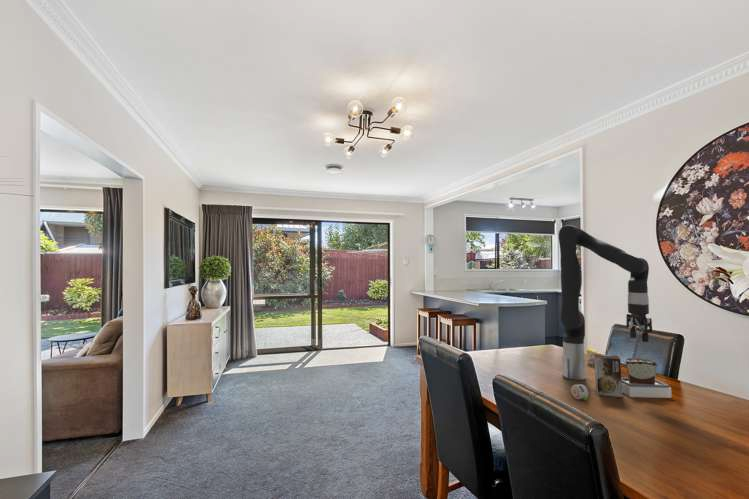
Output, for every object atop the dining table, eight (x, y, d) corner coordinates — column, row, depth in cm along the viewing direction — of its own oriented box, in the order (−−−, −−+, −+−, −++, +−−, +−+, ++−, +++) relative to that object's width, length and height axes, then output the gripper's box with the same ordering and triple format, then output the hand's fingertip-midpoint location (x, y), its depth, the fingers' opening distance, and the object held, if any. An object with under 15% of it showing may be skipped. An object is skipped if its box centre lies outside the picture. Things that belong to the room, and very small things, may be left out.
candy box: (586, 363, 206) (586, 349, 206) (590, 363, 206) (589, 348, 206) (608, 372, 190) (607, 356, 190) (612, 372, 190) (611, 355, 190)
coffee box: (619, 392, 159) (618, 355, 159) (622, 397, 153) (621, 358, 154) (595, 390, 162) (594, 353, 163) (597, 394, 157) (595, 356, 157)
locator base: (630, 396, 154) (629, 384, 154) (615, 388, 164) (615, 377, 165) (671, 397, 152) (671, 385, 152) (654, 389, 163) (653, 377, 163)
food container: (652, 381, 162) (651, 358, 162) (658, 385, 156) (658, 361, 156) (620, 379, 165) (619, 356, 165) (625, 383, 159) (625, 360, 160)
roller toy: (580, 402, 149) (579, 387, 149) (569, 396, 155) (568, 382, 155) (589, 401, 149) (589, 386, 150) (578, 395, 156) (578, 382, 156)
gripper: (619, 301, 169) (620, 336, 168) (639, 304, 155) (640, 343, 154) (637, 301, 168) (638, 336, 168) (658, 304, 154) (659, 343, 153)
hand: (639, 339), depth 161 cm, fingers open, 8 cm apart
